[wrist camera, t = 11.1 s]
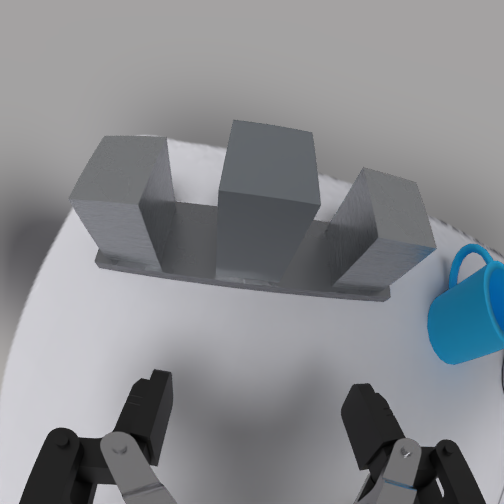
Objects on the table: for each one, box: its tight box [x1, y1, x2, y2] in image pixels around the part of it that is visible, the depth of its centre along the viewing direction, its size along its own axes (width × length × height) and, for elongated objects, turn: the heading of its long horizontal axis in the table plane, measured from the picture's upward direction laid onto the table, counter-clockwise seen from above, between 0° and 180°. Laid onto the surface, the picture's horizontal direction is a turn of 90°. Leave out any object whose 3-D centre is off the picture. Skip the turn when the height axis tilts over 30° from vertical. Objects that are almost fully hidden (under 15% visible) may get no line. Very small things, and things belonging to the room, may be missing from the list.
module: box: [216, 120, 321, 282], centre depth 19 cm, size 5×6×10 cm
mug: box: [427, 244, 504, 365], centre depth 20 cm, size 12×8×8 cm
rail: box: [69, 136, 437, 302], centre depth 20 cm, size 26×7×9 cm, turn 86°
